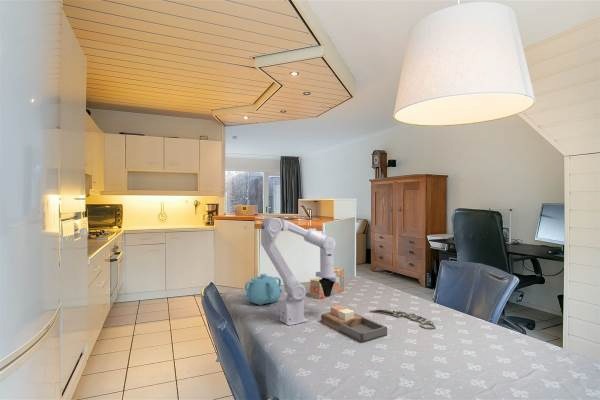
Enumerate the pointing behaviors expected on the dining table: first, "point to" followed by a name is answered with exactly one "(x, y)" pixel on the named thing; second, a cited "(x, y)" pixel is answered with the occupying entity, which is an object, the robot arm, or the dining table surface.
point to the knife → (409, 317)
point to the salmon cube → (336, 310)
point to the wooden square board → (340, 320)
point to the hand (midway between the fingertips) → (327, 296)
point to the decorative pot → (263, 289)
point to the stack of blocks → (317, 289)
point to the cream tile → (346, 314)
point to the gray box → (364, 331)
